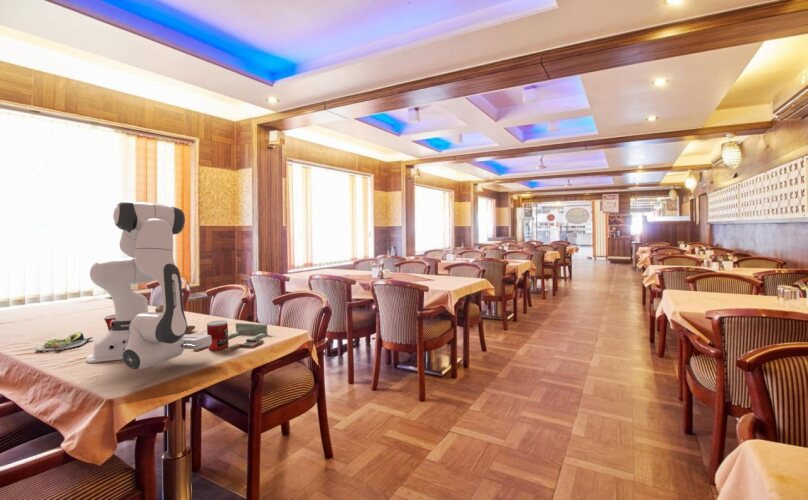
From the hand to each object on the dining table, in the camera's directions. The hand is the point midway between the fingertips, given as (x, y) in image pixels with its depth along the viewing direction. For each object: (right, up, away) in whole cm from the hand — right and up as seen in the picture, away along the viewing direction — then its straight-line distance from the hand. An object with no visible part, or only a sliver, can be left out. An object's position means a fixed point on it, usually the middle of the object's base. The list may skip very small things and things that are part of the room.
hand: (200, 335), depth 155 cm
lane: (+5, -7, +19) cm, 21 cm away
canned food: (+2, -8, +10) cm, 13 cm away
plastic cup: (-52, -8, +28) cm, 60 cm away
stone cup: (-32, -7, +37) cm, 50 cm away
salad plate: (-71, -9, +21) cm, 74 cm away
